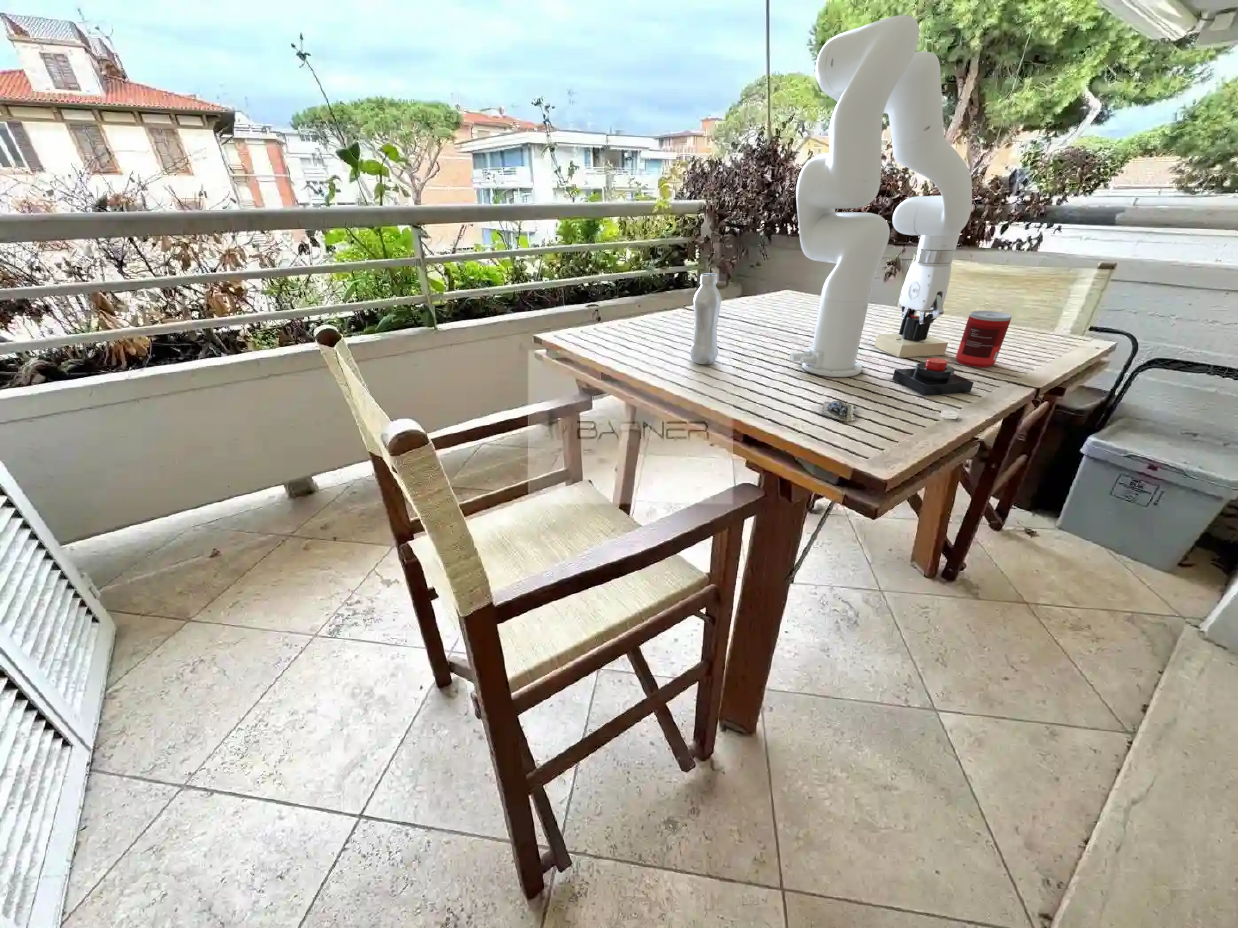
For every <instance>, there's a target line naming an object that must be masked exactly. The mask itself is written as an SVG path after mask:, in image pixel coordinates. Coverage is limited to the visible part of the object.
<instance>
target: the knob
mask: <svg viewBox="0 0 1238 928" xmlns="http://www.w3.org/2000/svg"><path fill="white" fill-rule="evenodd" d="M919 320H920V315H919V316H918V315H911V316H909V317H907V319H906V323H905V327H904V331H903V334H902V338H903V339H905V340H911V341H915V340H913V335H914V332H915V328H916V325H917V323H919ZM917 341H919V340H917Z"/></svg>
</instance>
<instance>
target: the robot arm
mask: <svg viewBox="0 0 1238 928" xmlns="http://www.w3.org/2000/svg"><path fill="white" fill-rule="evenodd" d="M919 39H920V26H919V22H918V21H917V20H916V18H915V17H913V16H911V15H907V14H900V15H894V16H890V17H885V18H882V19H879V20H875V21H873V22H869V23H867V24H864V25H862V26H859V27H856V28H853V29H850V30H846V31H843V32H841V33H839V34H836V35H834V36H833V37H831V38H830V39H829V40H828V41H827V42H826V43H825V44H824V45H823V46H822V48H821V49H820V51H819V53H818V55H817V59H816V63H815V77H816V80H817V84H818V86H819V87H820V89H821V90H822V92H823V93H824V94H825V95H827V96H828V97H829V98H831V99H832V100H834V101H836V102H837V103H836V105H835V107H834V109H833V112H832V115H831V118H830V121H829V129H828V137H829V138H828V152H827V153H821V154H818V155H815V156H813V157H811V158H810V159H809V160H808V161H807V162H806V163H805V164H804V165H803V167H802V169H801V171H800V173H799V175H798V179H797V182H796V189H795V198H796V199H795V200H796V201H795V202H796V212H797V224H798V235H799V242H800V243H799V244H800V248H801V251H802V253H803V255H804V256H805V257H806V258H808V259H809V260H812V261H816V262H821V263H831V264H835V266H834V267H833V269H832V270H831V272H830V273H829V274H828V276H827V277H826V278H825V281H824V283H823V285H822V289H821V294H820V300H819V307H818V311H817V318H816V323H815V329H814V333H813V334H814V336H813V341H812V346H807V348H806V350H804V351H803V352H791V353H790V354H789V360H790V361H789V362H799V363H800V364H801V368H802V369H803V370H805V371H806V372H809V373H811V374H814V375H818V376H822V377H831V378H849V377H854V376H858V375H859V374H861V373H862V369H863V366H862V364H861V363H859V362H858V361H857V358H858V353H859V349H860V343H861V340H862V335H863V329H864V325H865V321H866V316H867V313H868V307H869V303H870V298H871V295H872V290H873V286H874V282H875V278H876V274H877V271H878V268H879V265H880V263H881V260H882V258H883V256H884V254H885V251H886V249H887V246H888V244H889V240H890V234H891V233H890V231H891V230H890V226H889V223H888V222H887V220H886V219H885V218H884V217H883V216H881V215H879V214H877V213H872V212H858V211H855V212H854V211H851V212H850V211H847V212H845V211H844V212H843V211H842V212H840V211H838V212H836V209H839V210H840V209H841V210H842V209H843V210H844V209H858V208H859V209H860V208H863V207H866V206H868V205H869V204H870V203H872V202H873V201H874V200H875V199H876V198H877V196H878V193H879V191H880V188H881V183H882V181H881V180H882V139H883V138H882V133H883V132H882V131H883V117H884V115H885V114H887V116H888V121H889V123H888V124H889V130H890V138H891V147H892V156H893V159H894V160H895V162H896V163H898V164H899V165H900V166H903V167H905V168H907V169H909V170H911V171H913V172H915V173H917V174H919V175H921V176H923V177H925V178H927V180H930V181H931V183H933V185H934V186H936V188H937V190H938V191H939V193H940V195H919V196H917V195H916V196H911V197H907V198H906V199H905V200H902V202H900V203H899V204H898V205H897V206H896V208H895V210H894V211H893V214H892V219H891V220H892V222H891V223H892V226H893V228H894V229H895V231H897V232H898V233H899V234H901V235H907V236H919V241H918V244H917V249H916V253H915V256H914V260H913V262H911V264H910V266H909V269H908V271H907V272H906V276H905V279H904V281H903V285H902V288H901V291H900V294H899V298H898V303H899V305H900V308H901V312H902V314H901V324H900V329H899V331H898V334H899V335H902V334H903V331H904V327H905V323H906V319H907V317H909V316H911V315H915V316H917V313H918V312H919V316H920V320H919V323H917V325H916V328H915V332H914V335H913V340H915V341H917V340H926V338H927V335H929V331H930V327H931V325H932V324H933V323H934V321H935V320H937V319H938V318H939V317H940V316H942V315H944V313H945V312H944V311H945V310H944V303H945V301H946V297H947V294H948V290H949V284H950V279H951V273H952V264H953V263H952V262H953V261H954V256H955V253H956V249H957V246H958V242H959V239H960V235H961V232H962V230H963V229H964V228H965V227H966V226H967V224H968V222H969V220H970V217H971V213H972V209H973V208H972V207H973V206H972V205H973V181H972V174H971V171H970V170H969V167H968V165H967V164H966V162H965V161H964V159H963V158H962V156H961V155H960V153H959V152H958V151H957V150H956V149H955V148H954V147H953V146H952V145H951V144H950V143H949V142H948V141H947V139H946V136H945V132H944V129H945V128H944V115H943V93H942V92H943V91H942V75H941V63H940V60H939V58H938V56H937V55H936V54H935V53H934V52H930V51H926V50H925V51H924V50H923V51H917V48H918V44H919ZM927 313H928V314H927Z"/></svg>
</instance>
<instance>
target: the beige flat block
mask: <svg viewBox="0 0 1238 928" xmlns="http://www.w3.org/2000/svg"><path fill="white" fill-rule="evenodd" d="M948 345H949V342H948V341H945V340H942V339H939V338H937V337H934V336H931V335H929V334H927V338H926V340H919V341H911V340H905V339H903V338H902V335H899V333H888V334H877V335H876V338H875V343H874V348H876V349H878V350H881V351H883V352H885V353H887V354H889V355H891V356H894V357H897V358H912V357H928V356H930V357H931V356H944V355H946V351H947V348H948Z"/></svg>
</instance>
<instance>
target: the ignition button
mask: <svg viewBox="0 0 1238 928" xmlns="http://www.w3.org/2000/svg"><path fill="white" fill-rule="evenodd" d="M925 362H926V365H925V368H928V369H932V370H946V366H947V365H948V363H949V361H948V360H946V359H944V358H940V357H929V358H926V361H925Z"/></svg>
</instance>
